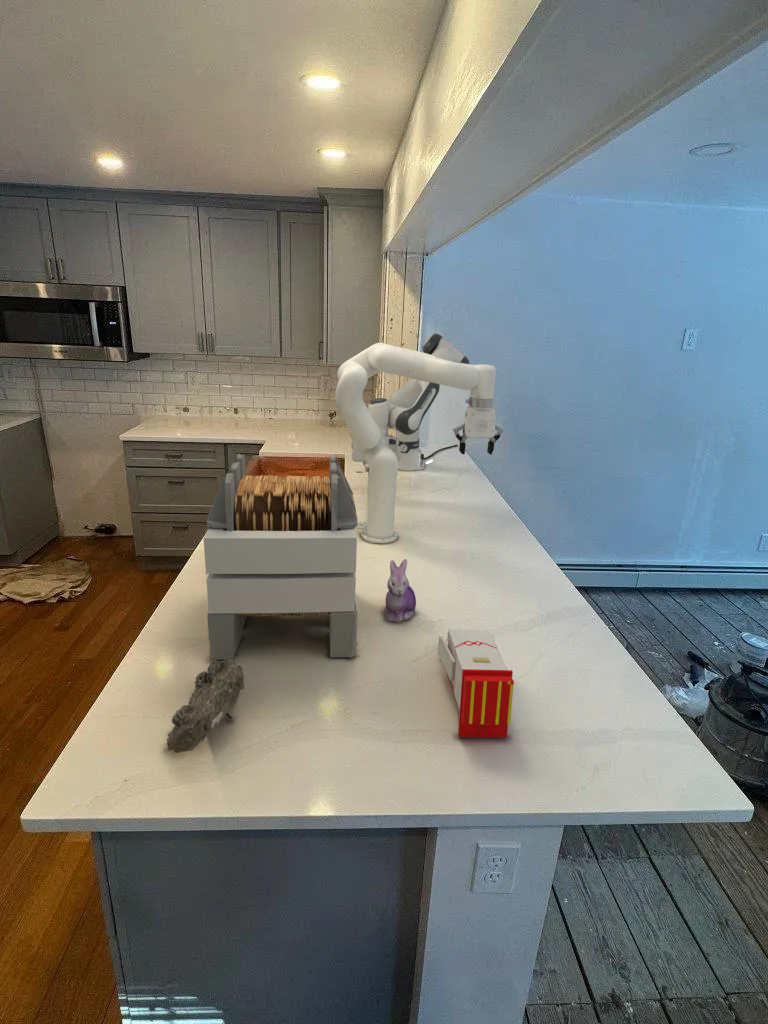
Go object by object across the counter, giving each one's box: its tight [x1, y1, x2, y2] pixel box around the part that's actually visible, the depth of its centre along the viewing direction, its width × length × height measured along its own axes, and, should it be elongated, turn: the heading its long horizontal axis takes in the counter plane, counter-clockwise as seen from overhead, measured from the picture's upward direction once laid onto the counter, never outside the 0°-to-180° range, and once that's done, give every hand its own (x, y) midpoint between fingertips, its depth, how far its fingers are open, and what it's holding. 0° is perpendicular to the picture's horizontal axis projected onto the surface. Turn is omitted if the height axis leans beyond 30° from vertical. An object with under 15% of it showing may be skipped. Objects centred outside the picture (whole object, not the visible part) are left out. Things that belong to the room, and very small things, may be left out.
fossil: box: [166, 659, 245, 754], centre depth 106 cm, size 22×10×15 cm
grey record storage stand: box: [203, 453, 359, 661], centre depth 135 cm, size 34×33×41 cm
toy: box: [437, 628, 515, 738], centre depth 117 cm, size 12×13×30 cm
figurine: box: [384, 558, 417, 623], centre depth 145 cm, size 9×10×15 cm
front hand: (476, 453), depth 193 cm, fingers open, 9 cm apart
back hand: (375, 471), depth 236 cm, fingers closed on block, 6 cm apart
